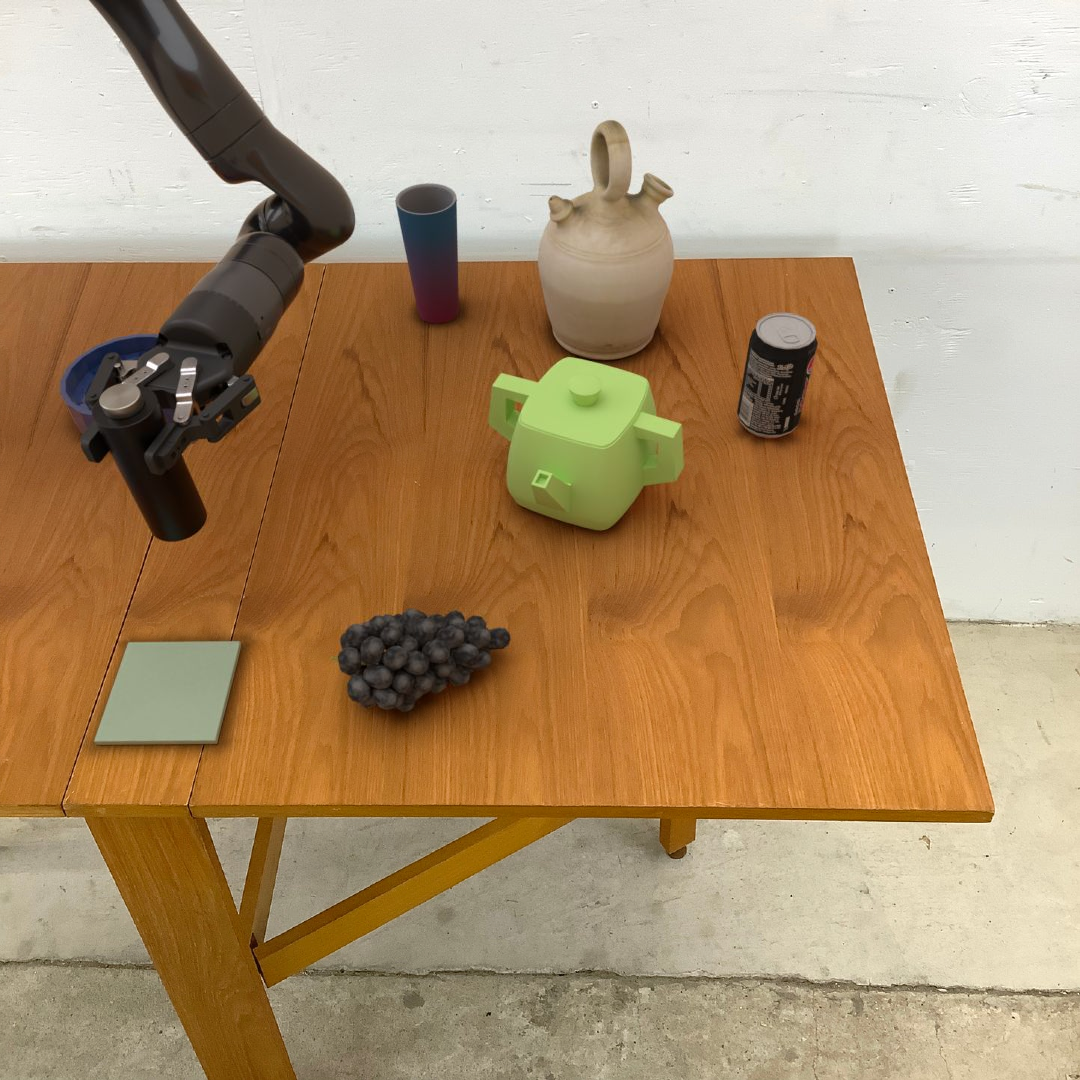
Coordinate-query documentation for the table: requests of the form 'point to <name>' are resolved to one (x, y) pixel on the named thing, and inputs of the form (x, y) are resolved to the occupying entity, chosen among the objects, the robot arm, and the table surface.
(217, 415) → the robot arm
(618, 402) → the teapot
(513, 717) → the table surface
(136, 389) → the bottle
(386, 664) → the fruit
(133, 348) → the bowl
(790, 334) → the beverage can
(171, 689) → the mat
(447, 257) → the cup
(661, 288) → the jug
